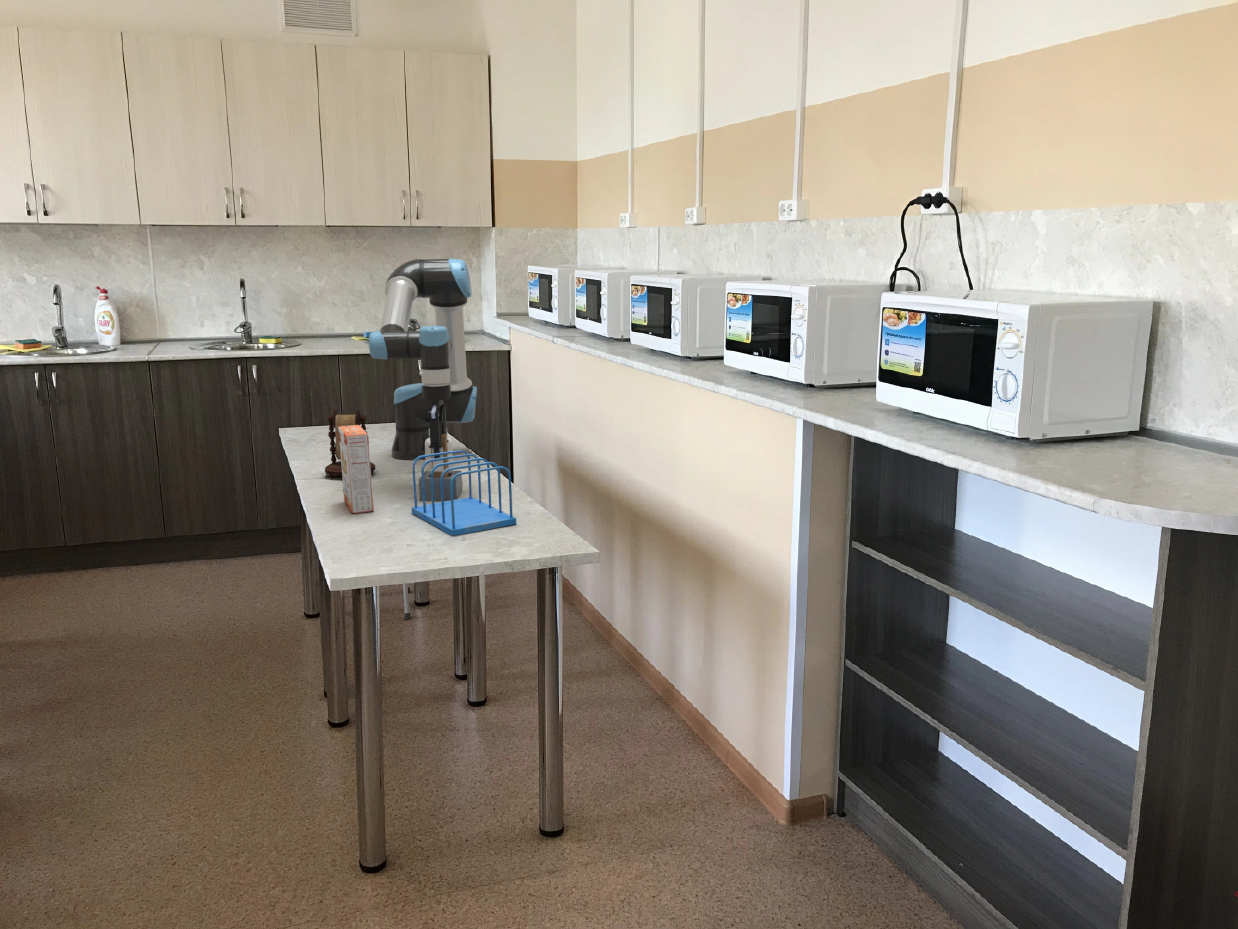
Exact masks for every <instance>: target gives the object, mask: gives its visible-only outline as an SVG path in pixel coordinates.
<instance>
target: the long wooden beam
mask: <svg viewBox="0 0 1238 929" xmlns="http://www.w3.org/2000/svg"><path fill="white" fill-rule="evenodd" d="M447 437H448V433H447V434H441V445H442V447H443V452H448V445H447ZM431 454H432V448H431ZM443 457H448V454H444V455H443ZM431 459H433V457H432V456H431ZM447 462H448V459H446V460H443V463H447ZM443 467H444V471H445V470H446V469H448V465H444V466H443ZM432 469H433V462H432ZM444 471H434V472H433V477H441V475H442V473H443V472H444ZM443 477H449V471H448V472H446V473H445V474H444V476H443Z"/></svg>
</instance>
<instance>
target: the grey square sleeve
mask: <svg viewBox="0 0 1238 929" xmlns="http://www.w3.org/2000/svg"><path fill="white" fill-rule="evenodd" d="M461 472H462V470H453V471H449V477H443V494H444V502H445V501H451V493H450V482H451V479H452V478H453V476H454V475H456V474H457V473H461ZM440 478H441V477H433V486H434V502H441V485H440ZM424 484H425V502H427V501H428V502H432V495H431V471H426V470H424ZM418 490H419V491H418V493H419V494H418V495H419V501H420V502H421V501H422V502H423V493H422V476H420V477H419V478H418ZM462 493H463V475H459V476H457V477H456V478H455V479H454V481H453V500H457V499H460V496H461V494H462Z"/></svg>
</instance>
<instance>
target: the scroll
mask: <svg viewBox="0 0 1238 929" xmlns="http://www.w3.org/2000/svg"><path fill="white" fill-rule="evenodd" d="M366 421H367V417H366V416H365V415H363V414H362V415H361V411H360V409H359V408H357V409H356V410H355V414H338V410H337V409H334V410H333V412H332V415H329V416H328V417H327V422H328V423H327V424H328V425H329V427H328V430H329V431H328V433H327V434H328V435H327V436H328V437H329V440H330V442H329V446H330V447H329V452H330V455H331V458H330V461H331V463H329V464H328V465H326V466H325V467H324V473H325V474H326V475H328V477H329V479H330V480H331V479H333V476H336V477H337V476H339V477H340V476H341V477H342V467H341V454H340V442H339V431H338V427H340V426H351V425H360V427H361V428H362V429H363V430H364V431H365V432H366V433H367V434H368V431H367V427H366ZM334 430H335V431H334ZM337 460H338V461H337ZM370 468H371V473H372V472H374V471H375V470H376V468H377V467H376V464H375V463H373V462H372V461H370Z"/></svg>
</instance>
